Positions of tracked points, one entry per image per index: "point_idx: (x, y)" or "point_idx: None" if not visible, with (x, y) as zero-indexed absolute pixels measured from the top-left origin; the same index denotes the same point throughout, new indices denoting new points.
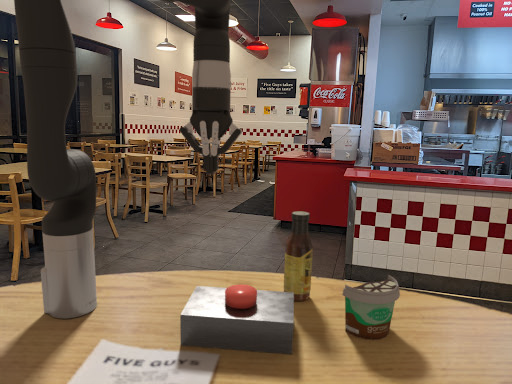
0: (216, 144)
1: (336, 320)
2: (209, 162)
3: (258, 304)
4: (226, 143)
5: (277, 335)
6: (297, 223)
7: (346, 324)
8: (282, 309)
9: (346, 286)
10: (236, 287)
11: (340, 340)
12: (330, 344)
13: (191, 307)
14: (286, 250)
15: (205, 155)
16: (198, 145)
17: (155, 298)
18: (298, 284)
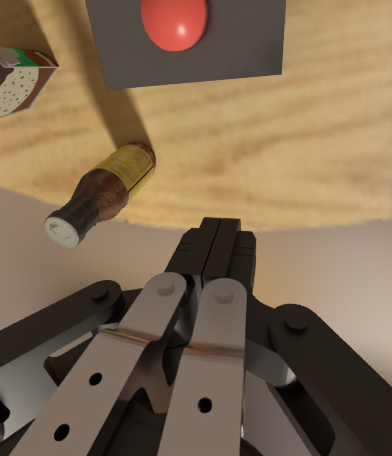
0: (118, 331)
1: (76, 96)
2: (212, 250)
3: None
4: (44, 331)
5: None
6: (72, 208)
7: (50, 64)
8: (104, 8)
9: (3, 63)
10: (184, 31)
11: (58, 36)
12: (66, 19)
13: None
14: (121, 186)
15: (229, 280)
16: (285, 362)
17: (374, 109)
18: (121, 149)
